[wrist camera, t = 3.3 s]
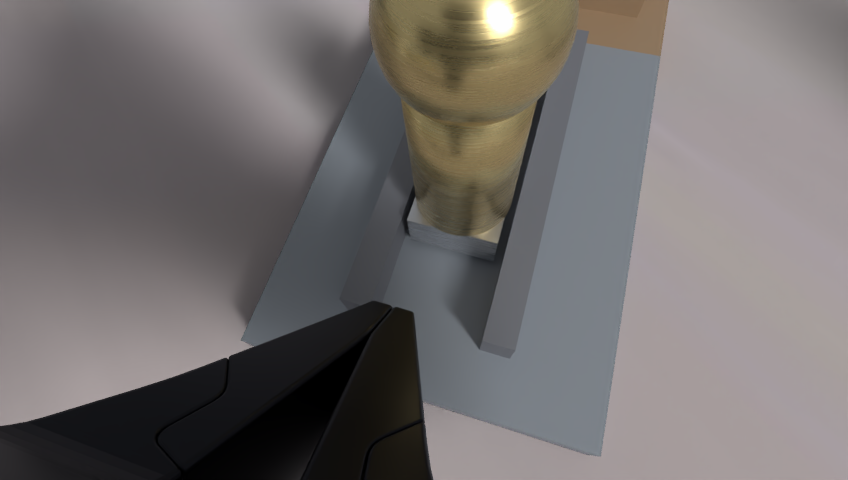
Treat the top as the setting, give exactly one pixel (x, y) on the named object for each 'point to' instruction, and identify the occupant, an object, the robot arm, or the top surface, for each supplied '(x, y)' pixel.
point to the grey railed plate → (517, 249)
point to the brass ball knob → (468, 103)
